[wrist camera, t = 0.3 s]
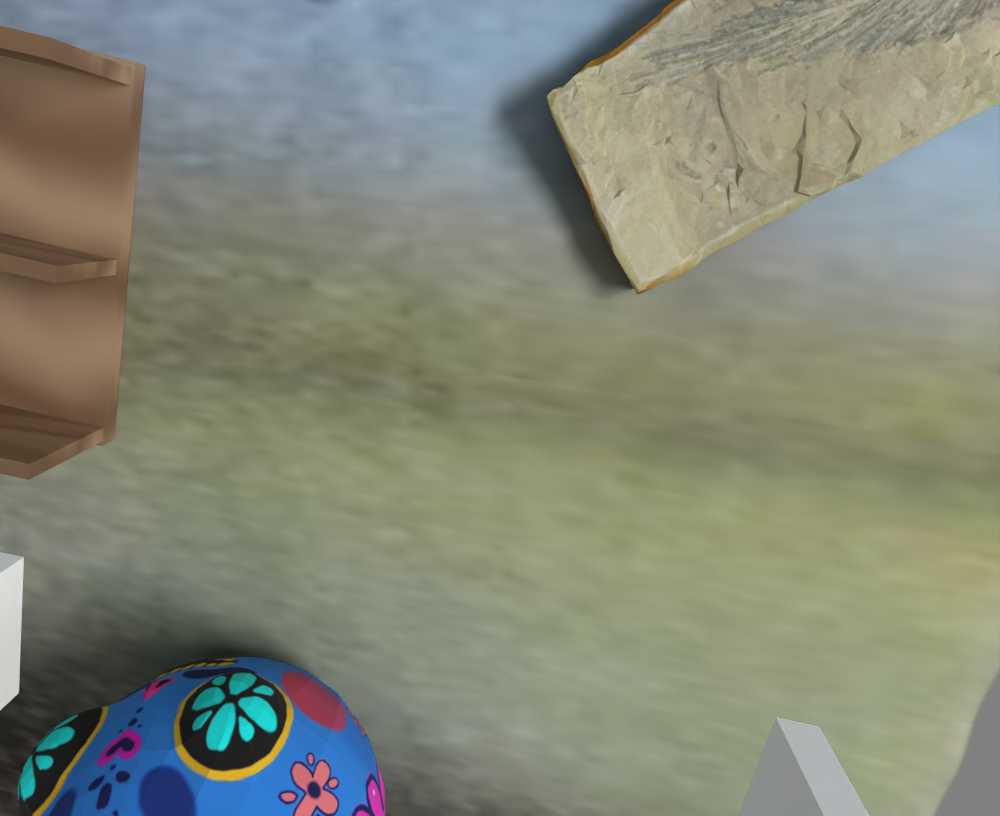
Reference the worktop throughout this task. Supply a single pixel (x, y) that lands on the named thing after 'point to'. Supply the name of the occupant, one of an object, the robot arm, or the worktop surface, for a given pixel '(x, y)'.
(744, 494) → the worktop surface
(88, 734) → the ceramic pot
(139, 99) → the rack
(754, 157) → the stone slab
